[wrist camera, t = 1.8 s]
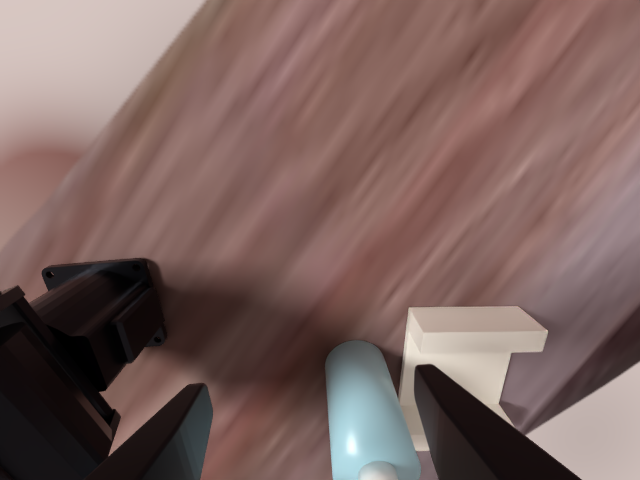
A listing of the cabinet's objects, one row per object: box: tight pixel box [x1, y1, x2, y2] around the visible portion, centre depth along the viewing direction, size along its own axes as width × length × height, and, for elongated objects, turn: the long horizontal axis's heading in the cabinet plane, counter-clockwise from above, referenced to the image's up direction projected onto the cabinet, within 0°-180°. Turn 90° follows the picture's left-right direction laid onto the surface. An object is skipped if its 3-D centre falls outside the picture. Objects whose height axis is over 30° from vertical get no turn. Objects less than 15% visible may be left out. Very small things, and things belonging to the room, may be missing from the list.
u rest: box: [398, 306, 548, 451], centre depth 22 cm, size 8×10×3 cm
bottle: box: [325, 340, 421, 480], centre depth 19 cm, size 5×5×10 cm
